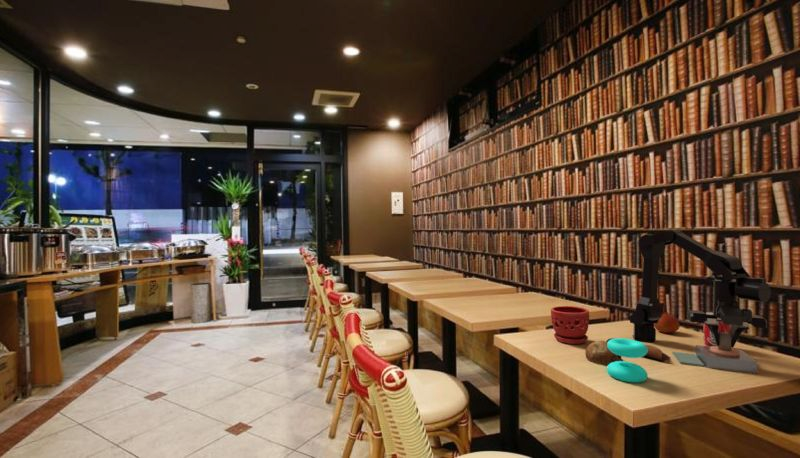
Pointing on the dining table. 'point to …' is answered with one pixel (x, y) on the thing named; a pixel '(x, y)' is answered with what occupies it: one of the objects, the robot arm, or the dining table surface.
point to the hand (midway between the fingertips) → (724, 346)
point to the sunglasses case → (654, 353)
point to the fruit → (667, 324)
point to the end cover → (725, 346)
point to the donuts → (627, 369)
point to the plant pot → (570, 324)
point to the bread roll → (601, 353)
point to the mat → (687, 359)
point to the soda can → (708, 335)
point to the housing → (726, 360)
